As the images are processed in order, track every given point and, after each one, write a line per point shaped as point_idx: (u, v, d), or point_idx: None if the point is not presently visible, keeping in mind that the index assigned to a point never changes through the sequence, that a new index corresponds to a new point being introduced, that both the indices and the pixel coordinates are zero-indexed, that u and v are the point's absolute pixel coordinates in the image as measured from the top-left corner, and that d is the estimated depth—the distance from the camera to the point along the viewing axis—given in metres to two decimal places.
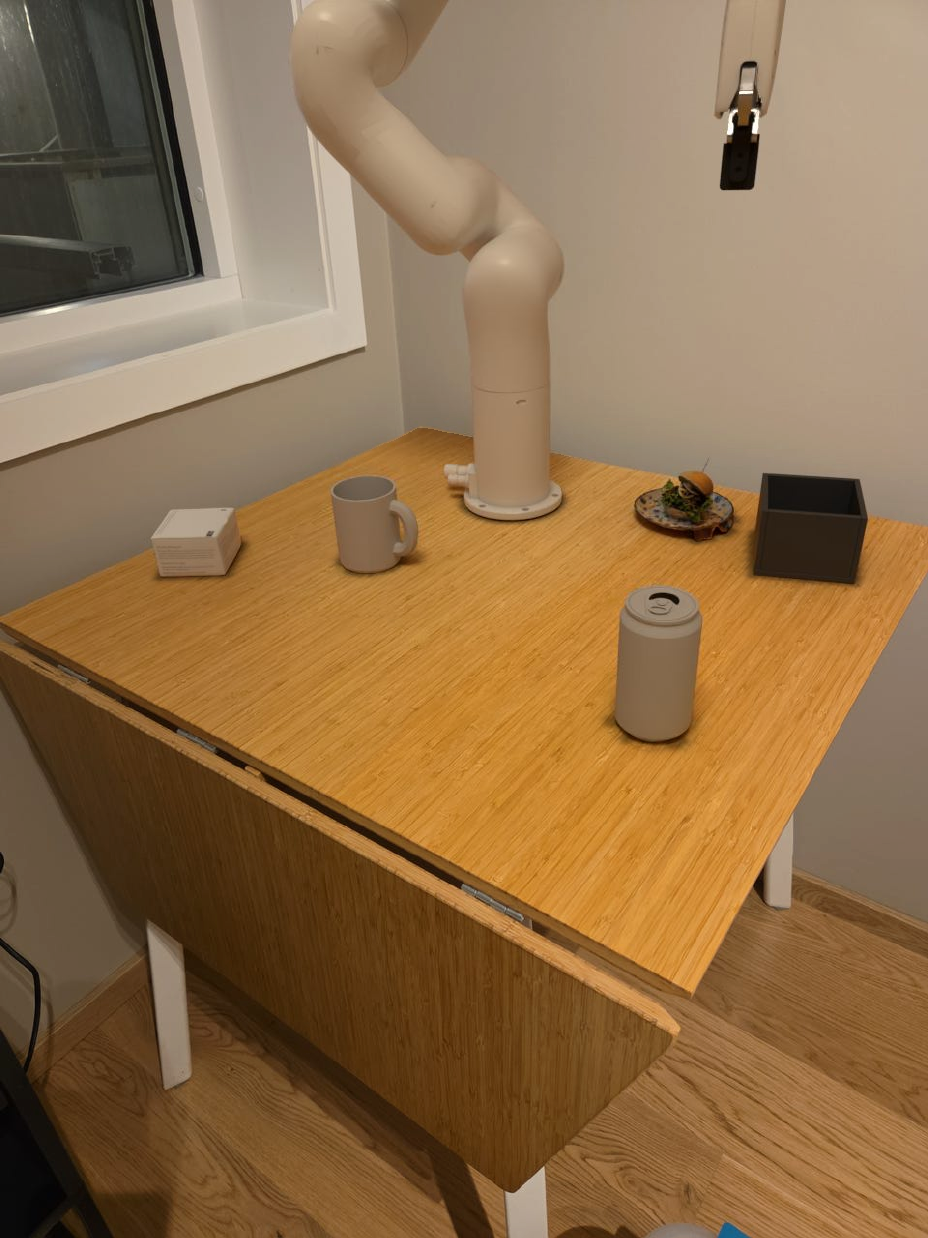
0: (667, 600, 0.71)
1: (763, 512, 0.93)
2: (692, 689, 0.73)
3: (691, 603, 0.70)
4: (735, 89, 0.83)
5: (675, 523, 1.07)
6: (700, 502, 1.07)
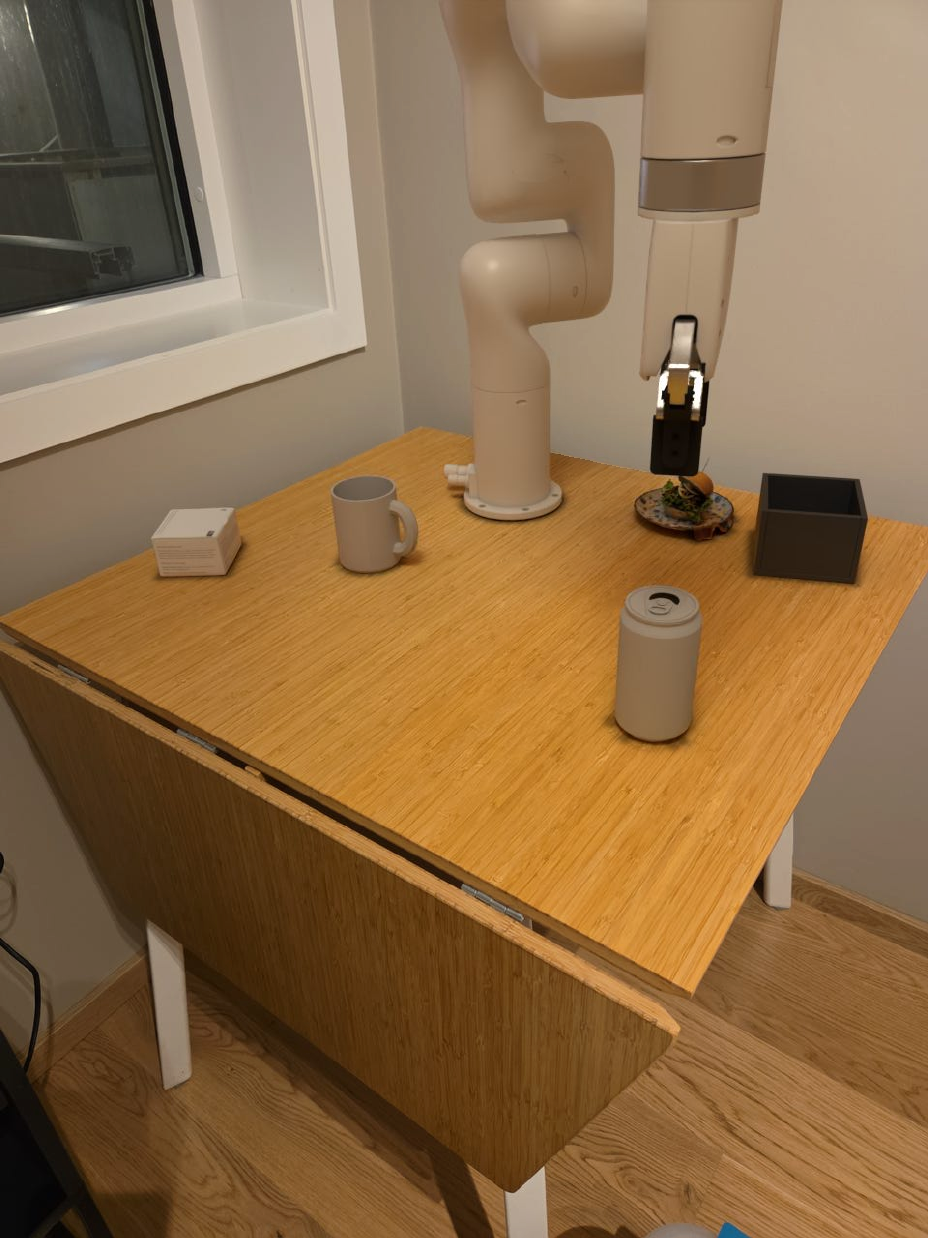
0: (667, 600, 0.71)
1: (763, 512, 0.93)
2: (692, 689, 0.73)
3: (691, 603, 0.70)
4: (666, 350, 0.57)
5: (675, 523, 1.07)
6: (700, 502, 1.07)
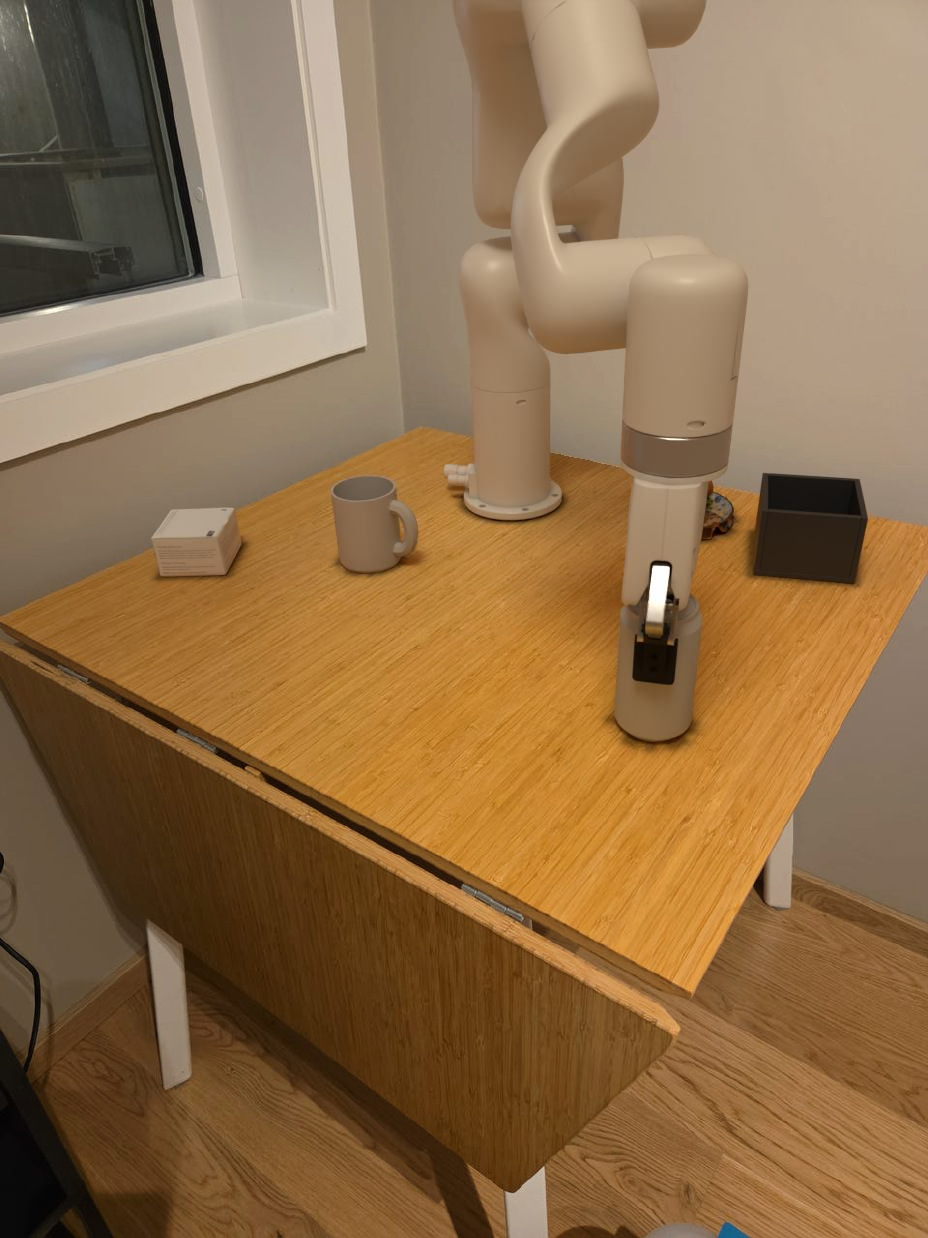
0: (667, 600, 0.71)
1: (763, 512, 0.93)
2: (692, 689, 0.73)
3: (691, 603, 0.70)
4: (644, 586, 0.64)
5: None
6: None
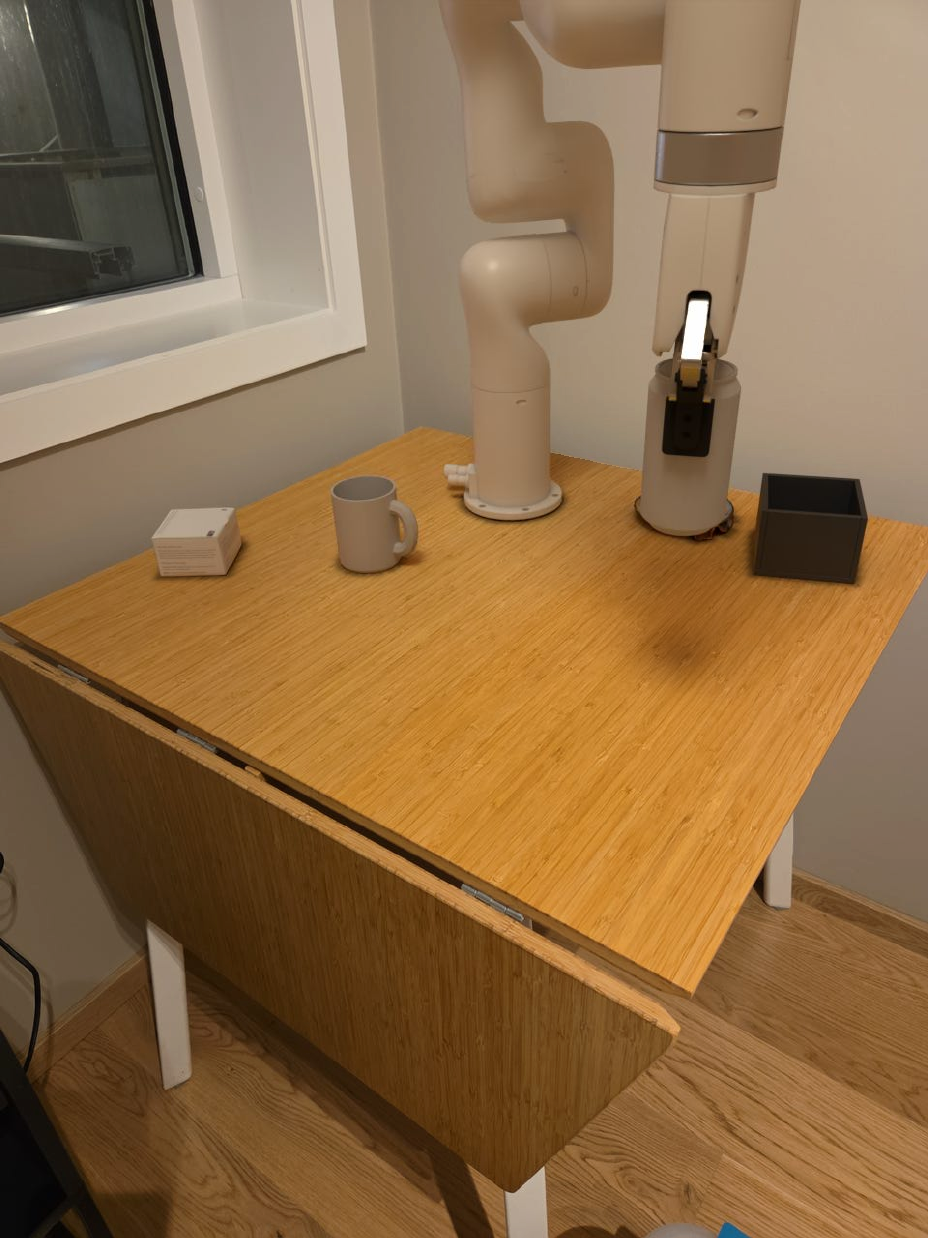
0: (702, 366, 0.64)
1: (763, 512, 0.93)
2: (728, 472, 0.65)
3: (729, 368, 0.63)
4: (680, 325, 0.57)
5: None
6: None
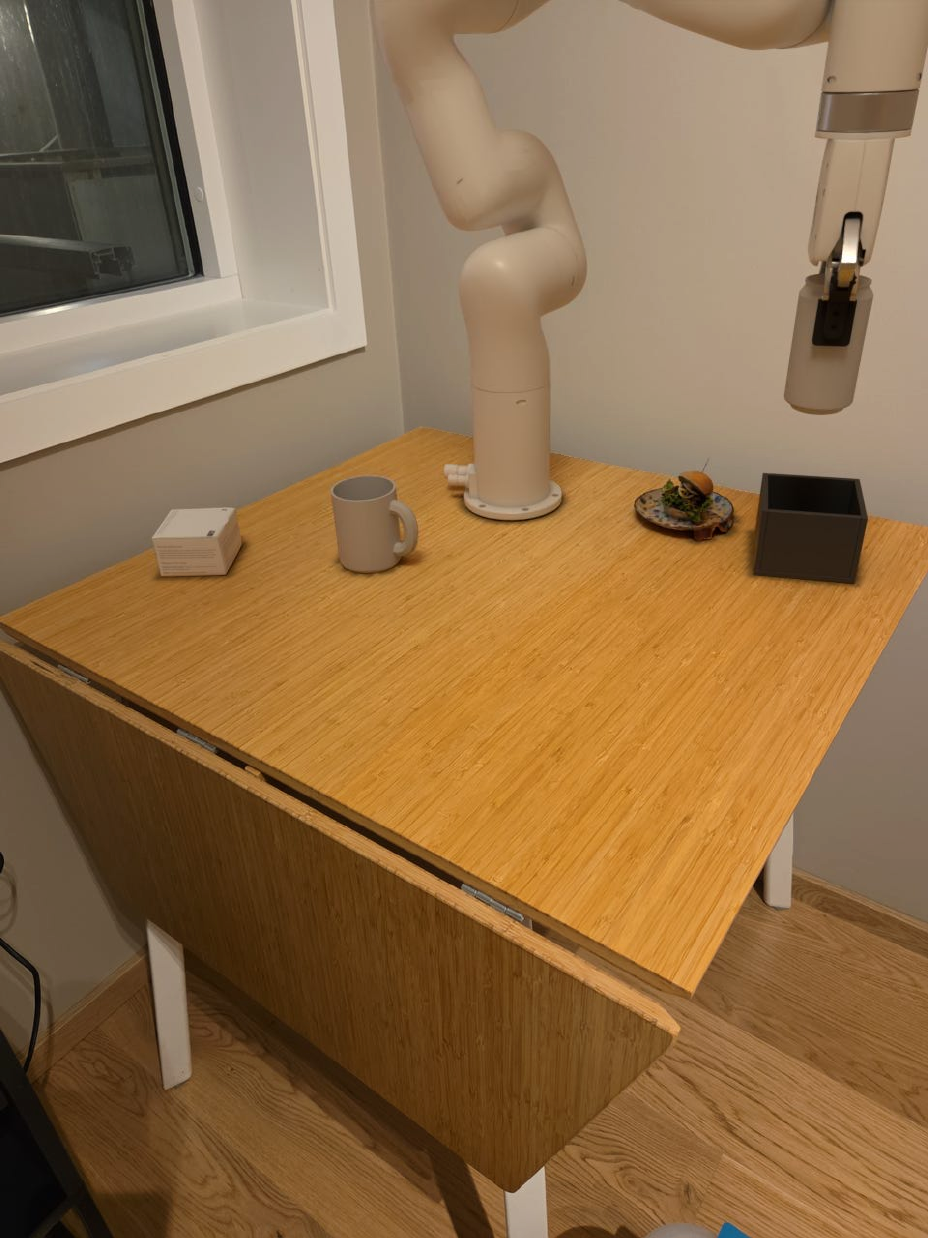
0: None
1: (763, 512, 0.93)
2: (859, 362, 0.84)
3: (864, 278, 0.82)
4: (836, 239, 0.76)
5: (675, 523, 1.07)
6: (700, 502, 1.07)
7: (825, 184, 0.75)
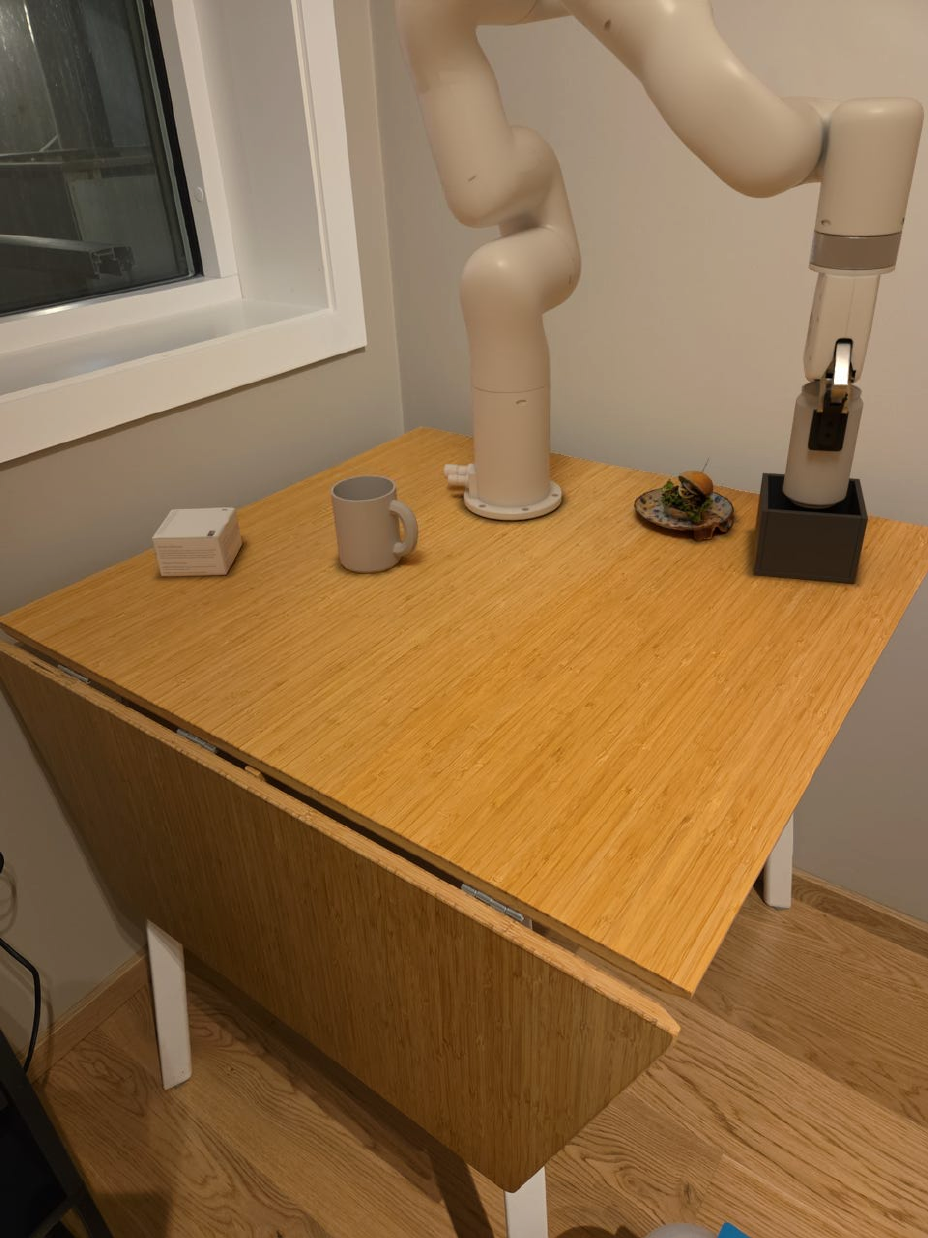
0: None
1: (763, 512, 0.93)
2: (851, 462, 0.92)
3: (854, 389, 0.90)
4: (829, 361, 0.84)
5: (675, 523, 1.07)
6: (700, 502, 1.07)
7: (818, 313, 0.83)
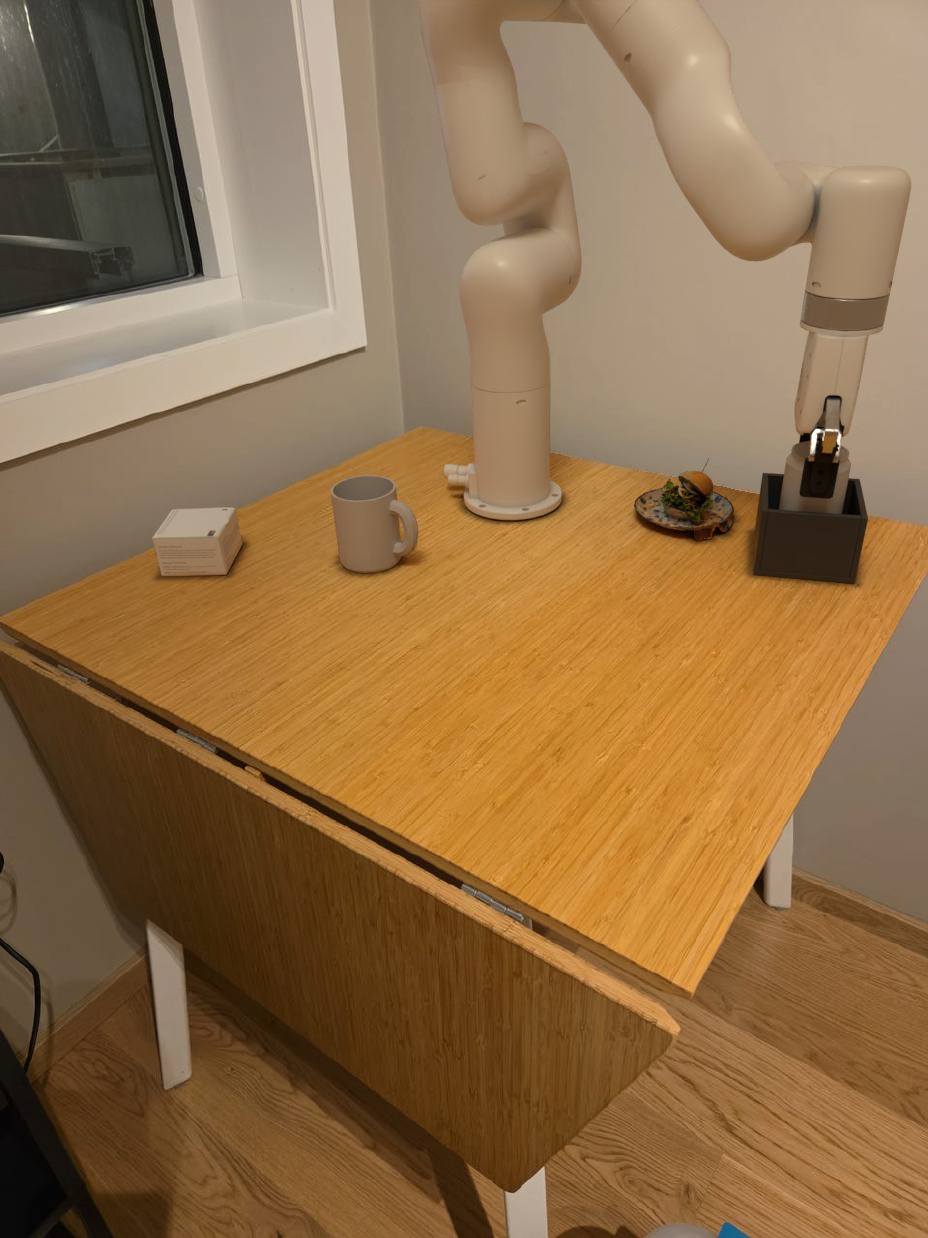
0: None
1: (763, 512, 0.93)
2: None
3: (842, 450, 0.93)
4: (819, 416, 0.87)
5: (675, 523, 1.07)
6: (700, 502, 1.07)
7: (809, 370, 0.86)
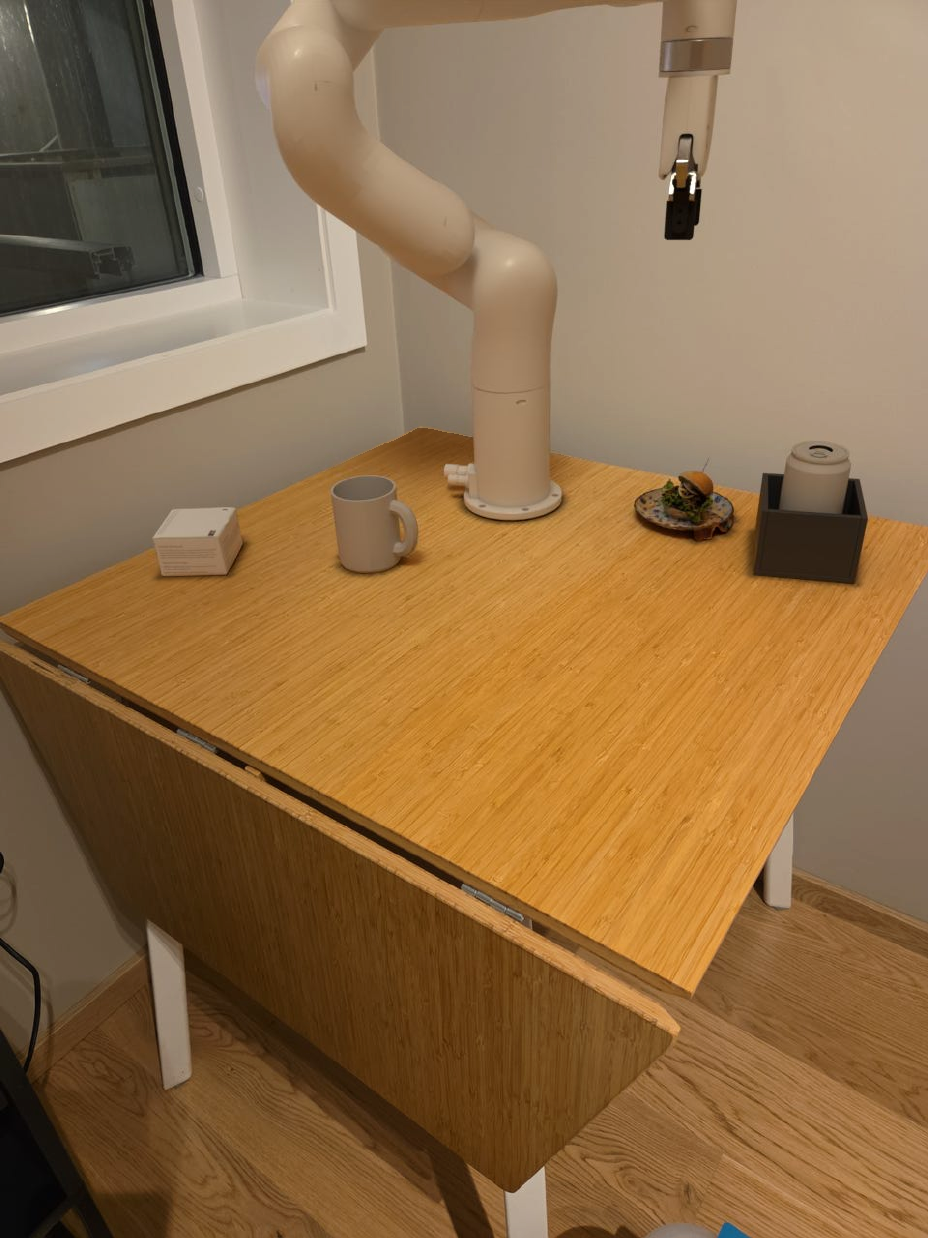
0: (823, 449, 0.94)
1: (763, 512, 0.93)
2: None
3: (842, 450, 0.93)
4: (675, 156, 0.97)
5: (675, 523, 1.07)
6: (700, 502, 1.07)
7: (664, 112, 0.96)
